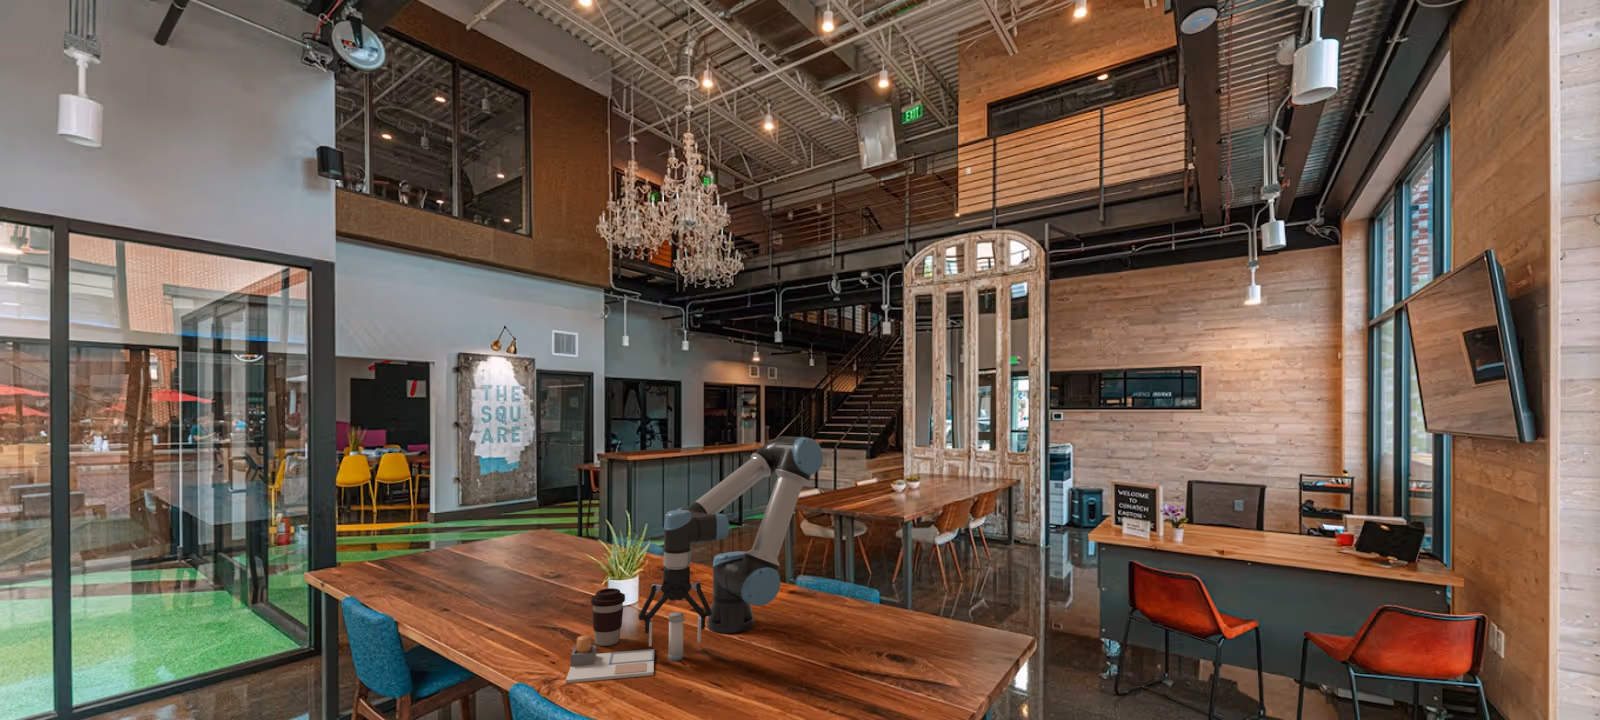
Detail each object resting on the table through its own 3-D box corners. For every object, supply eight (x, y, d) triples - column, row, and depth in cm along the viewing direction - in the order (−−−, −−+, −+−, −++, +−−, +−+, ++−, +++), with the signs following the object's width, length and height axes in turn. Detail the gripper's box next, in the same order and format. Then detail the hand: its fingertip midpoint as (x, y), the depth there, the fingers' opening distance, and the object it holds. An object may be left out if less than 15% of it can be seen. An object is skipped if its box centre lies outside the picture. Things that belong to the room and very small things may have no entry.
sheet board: (654, 651, 180) (654, 638, 180) (653, 675, 164) (653, 660, 165) (574, 658, 175) (574, 644, 176) (565, 683, 160) (566, 668, 160)
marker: (682, 654, 178) (683, 611, 179) (683, 660, 174) (683, 616, 175) (668, 656, 177) (668, 612, 178) (668, 661, 173) (668, 617, 174)
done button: (591, 653, 174) (592, 634, 174) (590, 658, 170) (590, 639, 171) (577, 654, 173) (577, 635, 173) (575, 659, 169) (575, 640, 170)
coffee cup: (614, 649, 182) (615, 597, 183) (583, 647, 184) (584, 595, 185) (630, 637, 192) (630, 587, 193) (600, 634, 193) (601, 585, 195)
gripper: (719, 561, 184) (717, 635, 182) (632, 564, 178) (630, 641, 177) (721, 567, 176) (720, 644, 175) (631, 571, 171) (628, 651, 169)
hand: (674, 642), depth 176 cm, fingers open, 13 cm apart
